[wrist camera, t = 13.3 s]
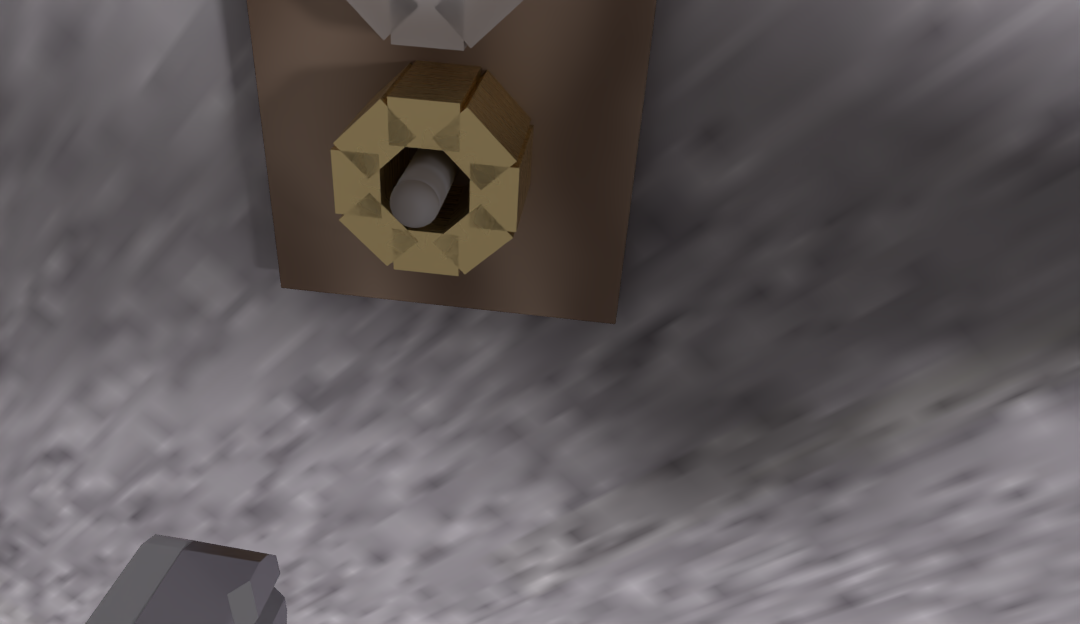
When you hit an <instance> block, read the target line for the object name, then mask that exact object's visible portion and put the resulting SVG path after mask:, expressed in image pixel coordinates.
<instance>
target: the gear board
mask: <svg viewBox="0 0 1080 624" xmlns="http://www.w3.org/2000/svg"><path fill="white" fill-rule="evenodd" d="M656 1H657V0H247V8H248V16H249V24H250V32H251V41H252V49H253V57H254V66H255V74H256V82H257V90H258V99H259V107H260V115H261V123H262V132H263V140H264V148H265V157H266V165H267V173H268V181H269V190H270V198H271V206H272V214H273V223H274V231H275V239H276V248H277V256H278V264H279V272H280V281H281V288H289V289H298V290H307V291H316V292H325V293H335V294H344V295H353V296H362V297H371V298H380V299H390V300H399V301H408V302H417V303H426V304H436V305H445V306H454V307H463V308H472V309H481V310H491V311H500V312H509V313H518V314H527V315H537V316H546V317H555V318H564V319H573V320H582V321H592V322H601V323H610V324H615V323H616V315H617V307H618V299H619V292H620V284H621V276H622V268H623V260H624V252H625V245H626V237H627V229H628V221H629V213H630V205H631V197H632V190H633V182H634V174H635V166H636V158H637V150H638V142H639V135H640V127H641V119H642V111H643V103H644V95H645V87H646V80H647V72H648V64H649V56H650V48H651V40H652V33H653V25H654V17H655V9H656ZM416 60H419V61H429V62H440V63H451V64H462V65H473V66H481V75H482V74H483V73H484V72H486V71H487V70H489V72H490V73H491V74H492V75H493V76H494V77H495V78H496V79H497V81H498V82H499V83H500V84H501V85H502V86H503V87H504V88H505V90H506V91H507V92H508V93H509V94H510V95H511V96H512V97H513V99H514V100H515V101H516V102H517V103H518V104H519V105H520V106H521V108H522V109H523V110H524V111H525V112H526V113H527V114H528V115H529V117H530V118H531V121H530V124H529V125H534V128H533V146H532V163H531V181H530V187H529V190H528V194H527V197H526V200H525V204H524V207H523V211H522V214H521V218H520V221H519V224H518V228H517V231H516V232H515V233H514V237H513V238H512V239H511V240H510V241H508V242H507V243H506V244H504V245H503V246H502V247H501V248H499V249H498V250H497V251H495V252H494V253H493V254H491V255H490V256H489V257H487V258H486V259H485V260H483V261H482V262H481V263H479V264H478V265H477V266H476V267H474V268H473V269H472V270H470V271H469V272H468V273H466V274H464V273H463V272H462V271H460V273H459V276H452V275H442V274H433V273H424V272H414V271H405V270H395V269H394V264H393V262H392V263H391V264H389V265H388V266H386V265H385V264H384V263H383V262H382V261H381V260H380V259H379V258H378V257H377V256H376V255H375V254H374V253H373V252H372V251H371V250H370V249H369V248H368V247H367V246H365V245H364V244H363V243H362V242H361V241H360V240H359V239H358V238H357V237H356V236H355V235H354V234H353V233H352V232H351V231H350V230H349V229H348V228H347V227H346V226H345V225H344V224H342V223H341V222H340V221H339V219H340V217H341V216H342V214H336V213H335V202H334V189H333V176H332V163H331V148H332V147H333V146H334V144H333V143H334V141H335V140H336V139H337V138H338V137H339V135H340V134H341V133H342V132H343V131H344V130H345V128H346V127H347V126H348V125H349V124H350V123H351V121H352V120H353V119H354V118H355V117H356V116H357V114H358V113H359V112H360V111H361V110H362V109H363V107H364V106H365V105H366V104H367V103H368V102H369V101H370V100H371V99H372V98H373V97H374V96H375V95H376V94H377V93H378V92H379V91H381V90H382V89H383V88H384V87H385V86H386V85H387V84H388V83H389V82H390V81H391V80H392V79H393V78H394V77H395V76H396V75H397V74H399V73H400V72H401V71H402V70H403V69H404V68H405V67H406V66H407V65H408V64H409V63H411V64H412V65H413V64H414V63H415V62H416ZM409 159H410V160H411V162H410V163H409V165H408V166H407V168H406V170H405V171H404V173H403V175H402V176H401V178H400V179H399V181H398V183H397V184H396V186H395V188H394V189H393V191H392V193H391V196H390V208H391V211H392V214H393V215H394V217H395V218H396V219H397V221H399V222H400V223H401V224H403V225H405V226H407V227H411V228H420V227H424V226H426V225H428V224H430V223H431V222H432V221H433V220H434V219H435V218H436V216H437V214H438V213H439V210H440V208H441V206H442V204H443V202H444V200H445V198H446V196H447V194H448V192H449V190H450V188H451V186H452V185H461V186H465V185H467V184H468V183H469V182H470V178H469V177H468V176H467V175H466V174H465V173H464V172H463V171H462V170H461V169H460V168H459V167H458V166H457V164H456V163H455V162H454V161H453V160H452V159H451V158H450V157H449V156H448V155H447V154H446V153H445V152H444V151H443V150H433V149H422V148H412V147H409Z"/></svg>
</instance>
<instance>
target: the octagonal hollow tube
mask: <svg viewBox="0 0 1080 624" xmlns="http://www.w3.org/2000/svg"><path fill="white" fill-rule="evenodd" d="M530 121H531V118H530V117H529V115H528V114H527V113H526V112H525V111H524V110H523V109H522V108H521V106H520V105H519V104H518V103H517V102H516V101H515V100H514V99H513V97H512V96H511V95H510V94H509V93H508V92H507V91H506V90H505V88H504V87H503V86H502V85H501V84H500V83H499V82H498V81H497V79H496V78H495V77H494V76H493V75H492V74H491V73H490V72H489V70H487V71H486V72H484V73H483V74H482V75H481V66H473V65H462V64H451V63H440V62H429V61H419V60H416V62H415V63H414V64H413V65H412V64H411V63H409V64H408V65H407V66H406V67H405V68H404V69H403V70H402V71H401V72H400V73H399V74H397V75H396V76H395V77H394V78H393V79H392V80H391V81H390V82H389V83H388V84H387V85H386V86H385V87H384V88H383V89H382V90H381V91H379V92H378V93H377V94H376V95H375V96H374V97H373V98H372V99H371V100H370V101H369V102H368V103H367V104H366V105H365V106H364V107H363V109H362V110H361V111H360V112H359V113H358V114H357V116H356V117H355V118H354V119H353V120H352V121H351V123H350V124H349V125H348V126H347V127H346V128H345V130H344V131H343V132H342V133H341V134H340V135H339V137H338V138H337V139H336V140H335V141H334V143H333V144H334V146H333V147H332V148H331V163H332V176H333V189H334V202H335V213H336V214H342V216H341V217H340V219H339V221H340V222H341V223H342V224H344V225H345V226H346V227H347V228H348V229H349V230H350V231H351V232H352V233H353V234H354V235H355V236H356V237H357V238H358V239H359V240H360V241H361V242H362V243H363V244H364V245H365V246H367V247H368V248H369V249H370V250H371V251H372V252H373V253H374V254H375V255H376V256H377V257H378V258H379V259H380V260H381V261H382V262H383V263H384V264H385V265H386V266H388V265H389V264H391V263H392V262H393V264H394V269H395V270H405V271H414V272H424V273H433V274H442V275H452V276H459V273H460V271H462V272H463V273H464V274H466V273H468V272H469V271H470V270H472V269H473V268H474V267H476V266H477V265H478V264H479V263H481V262H482V261H483V260H485V259H486V258H487V257H489V256H490V255H491V254H493V253H494V252H495V251H497V250H498V249H499V248H501V247H502V246H503V245H504V244H506V243H507V242H508V241H510V240H511V239H512V238H513V237H514V233H515V232H516V231H517V228H518V224H519V221H520V218H521V214H522V211H523V207H524V204H525V200H526V197H527V194H528V190H529V187H530V181H531V163H532V146H533V128H534V125H529V124H530ZM409 147H412V148H422V149H433V150H443V151H444V152H445V153H446V154H447V155H448V156H449V157H450V158H451V159H452V160H453V161H454V162H455V163H456V164H457V166H458V167H459V168H460V169H461V170H462V171H463V172H464V173H465V174H466V175H467V176H468V177H469V178H470V182H469V183H468V184H467V185H465V186H461V185H452V186H451V188H450V190H449V192H448V194H447V196H446V198H445V200H444V202H443V204H442V206H441V208H440V210H439V213H438V214H437V216H436V218H435V219H434V220H433V221H432V222H431V223H430V224H428V225H426V226H424V227H420V228H411V227H407V226H405V225H403V224H401V223H400V222H399V221H397V219H396V218H395V217H394V215H393V214H392V211H391V208H390V196H391V193H392V191H393V189H394V188H395V186H396V184H397V183H398V181H399V179H400V178H401V176H402V175H403V173H404V171H405V170H406V168H407V166H408V165H409V163H410V162H411V160H410V159H409Z"/></svg>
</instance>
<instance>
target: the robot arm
mask: <svg viewBox="0 0 1080 624" xmlns="http://www.w3.org/2000/svg"><path fill="white" fill-rule="evenodd" d="M279 575H280V570H279V566H278V561H277V557H276V555H271V554H266V553H260V552H255V551H249V550H244V549H238V548H232V547H227V546H221V545H216V544H210V543H205V542H199V541H194V540H188V539H182V538H176V537H170V536H163V535H157V534H155V535H154V536H152V537H151V538H150V539H148V540H147V541H146V542H144V543H143V544H142V545H141V546H140V548H139V549H138V550H137V552H136V553H135V555H134V556H133V557H132V559H131V560H130V562H129V563H128V564H127V566H126V567H125V569H124V570H123V571H122V573H121V574H120V576H119V577H118V578H117V580H116V581H115V583H114V584H113V586H112V587H111V588H110V590H109V591H108V593H107V594H106V595H105V597H104V598H103V600H102V601H101V602H100V604H99V605H98V607H97V608H96V609H95V611H94V612H93V614H92V615H91V616H90V618H89V619H88V621H87V622H86V624H287V607H286V601H285V597H284V596H283V595H282V594H281V593H280V592H279V591H278V590H277V589H276V588H275V587H274V585H275V583H276V581H277V579H278V577H279Z"/></svg>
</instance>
